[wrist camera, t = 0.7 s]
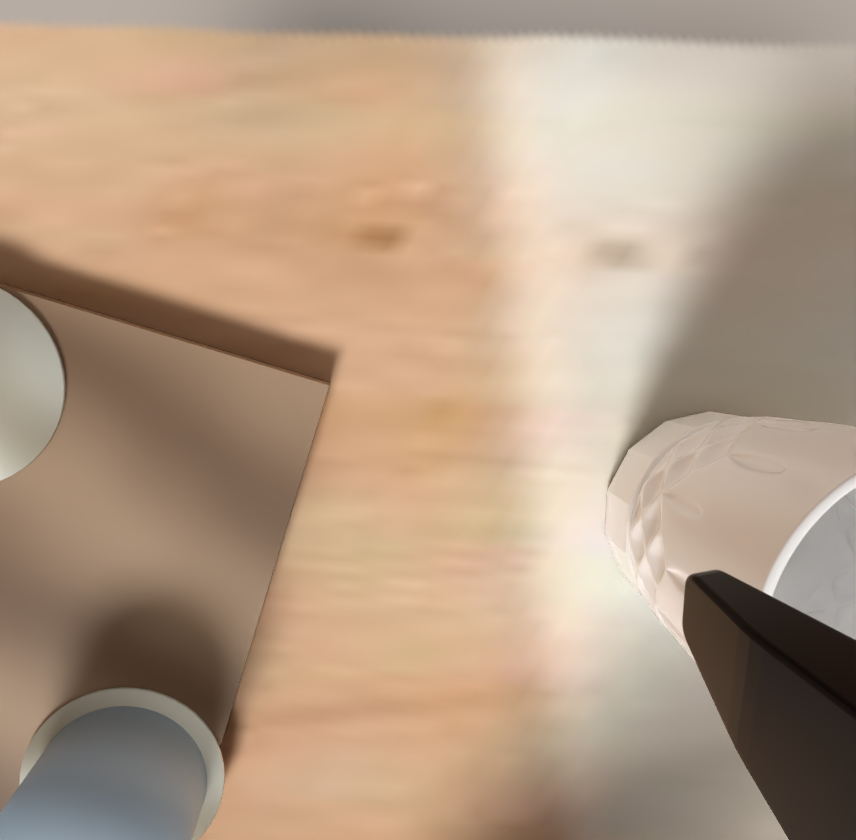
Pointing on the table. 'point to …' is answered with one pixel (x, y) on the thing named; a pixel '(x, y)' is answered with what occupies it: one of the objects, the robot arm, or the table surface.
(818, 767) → the robot arm
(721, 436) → the white cup
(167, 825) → the short pin
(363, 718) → the table surface
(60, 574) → the board
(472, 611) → the table surface
